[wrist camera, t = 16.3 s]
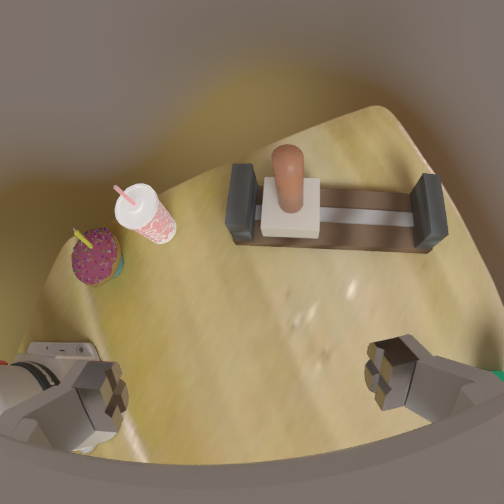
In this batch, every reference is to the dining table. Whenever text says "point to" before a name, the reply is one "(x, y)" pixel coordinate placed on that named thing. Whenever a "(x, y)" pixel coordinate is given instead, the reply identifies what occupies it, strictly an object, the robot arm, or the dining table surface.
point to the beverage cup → (144, 213)
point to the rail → (347, 217)
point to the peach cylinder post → (290, 197)
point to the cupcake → (96, 257)
